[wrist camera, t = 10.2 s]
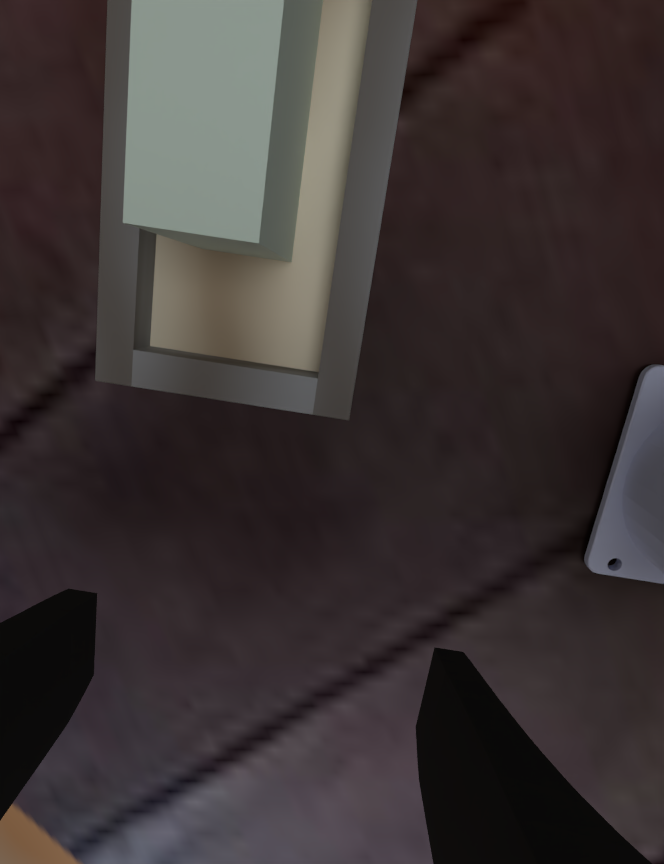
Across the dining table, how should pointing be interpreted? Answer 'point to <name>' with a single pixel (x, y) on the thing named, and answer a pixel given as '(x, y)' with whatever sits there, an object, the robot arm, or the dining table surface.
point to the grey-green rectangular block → (219, 121)
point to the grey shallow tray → (252, 276)
